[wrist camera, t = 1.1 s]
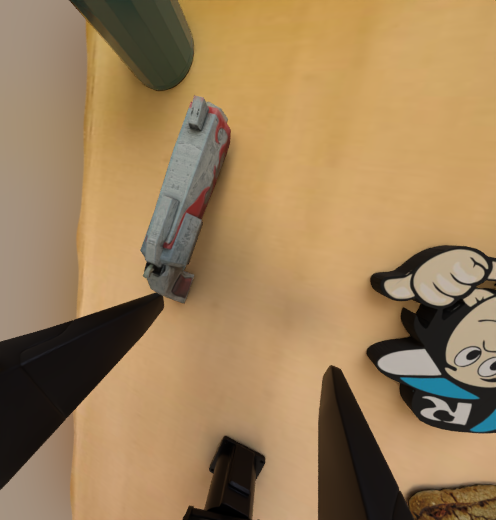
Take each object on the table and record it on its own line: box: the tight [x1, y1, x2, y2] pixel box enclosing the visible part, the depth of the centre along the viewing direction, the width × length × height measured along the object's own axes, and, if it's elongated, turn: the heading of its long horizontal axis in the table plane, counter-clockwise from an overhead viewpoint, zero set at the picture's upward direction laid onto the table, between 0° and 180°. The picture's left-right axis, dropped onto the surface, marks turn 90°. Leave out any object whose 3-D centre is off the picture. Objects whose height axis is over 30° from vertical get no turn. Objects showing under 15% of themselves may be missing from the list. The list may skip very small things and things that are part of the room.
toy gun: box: [140, 95, 231, 303], centre depth 19 cm, size 4×20×10 cm, turn 162°
